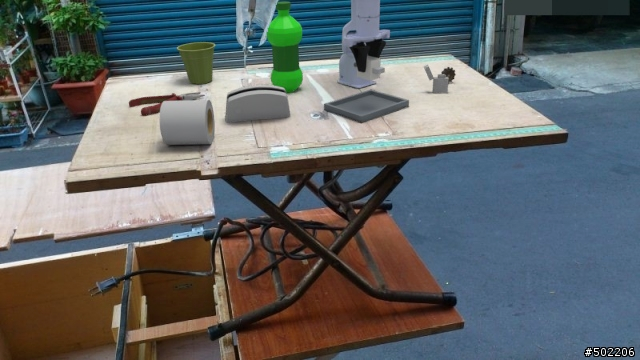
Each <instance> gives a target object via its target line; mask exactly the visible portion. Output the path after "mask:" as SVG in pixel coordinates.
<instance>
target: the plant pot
mask: <svg viewBox="0 0 640 360" xmlns="http://www.w3.org/2000/svg"><path fill="white" fill-rule="evenodd" d="M215 47H216V44H215V43H214V42H208V41H207V42H206V41H203V42H202V41H200V42H199V41H198V42H190V43H185V44H181V45H179V46H177V47H176V50H177V51H178V53H179V55H180V58H181V59H182V63H183V65H184V69H185V72H186V74H187V79H188V81H189V83H191V85H192V84H196V85H203V84H208V83H209V82H212V81H213V76H214V75H213V74H214V73H213V71H214V69H213V67H214V65H213V64H214V54H215V53H214V52H215Z"/></svg>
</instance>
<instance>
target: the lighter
mask: <svg viewBox="0 0 640 360" xmlns="http://www.w3.org/2000/svg"><path fill="white" fill-rule="evenodd" d="M423 68H424V70H425V73H426V76H427V78H428V80H429V81H432V90H431V92H432V94H448V93H449V83H448V81H449V78H448V77H446V75H444V74H441V73H437V76H433V73H432V71H431V69H430V66H429V64H425V65H424V66H423Z"/></svg>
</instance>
